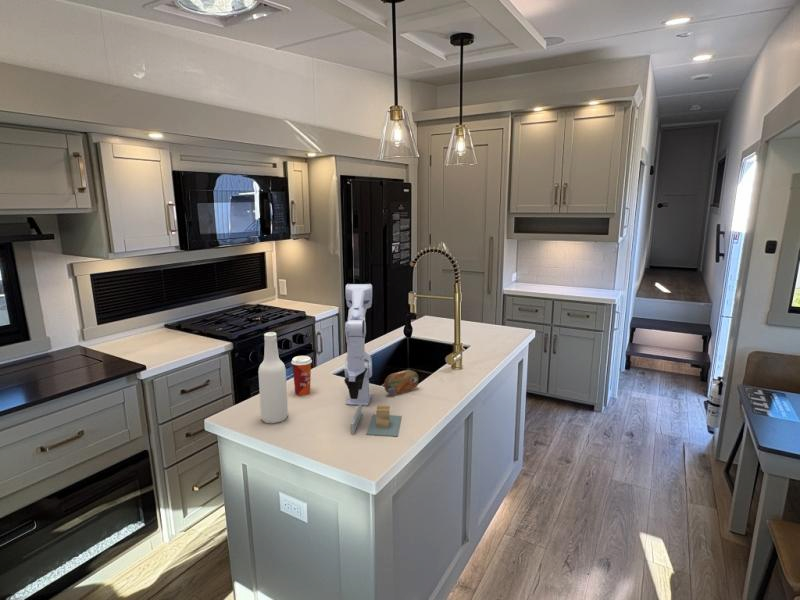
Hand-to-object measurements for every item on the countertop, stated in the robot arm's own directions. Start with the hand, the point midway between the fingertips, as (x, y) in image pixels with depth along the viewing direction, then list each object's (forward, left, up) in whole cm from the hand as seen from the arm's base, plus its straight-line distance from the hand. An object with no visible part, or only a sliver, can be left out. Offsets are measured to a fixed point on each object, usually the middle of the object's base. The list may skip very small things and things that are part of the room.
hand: (356, 393), depth 151 cm
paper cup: (-20, -25, -10) cm, 33 cm away
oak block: (+3, +9, -9) cm, 13 cm away
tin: (-25, +13, -10) cm, 30 cm away
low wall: (+3, +1, -9) cm, 10 cm away
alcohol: (+2, -28, -10) cm, 30 cm away
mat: (+3, +10, -9) cm, 14 cm away
